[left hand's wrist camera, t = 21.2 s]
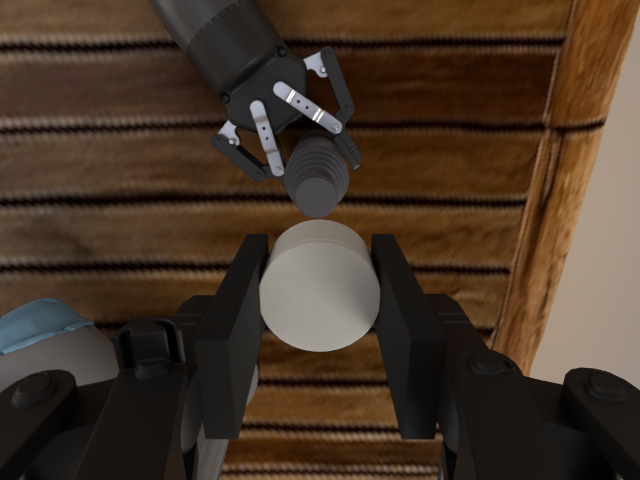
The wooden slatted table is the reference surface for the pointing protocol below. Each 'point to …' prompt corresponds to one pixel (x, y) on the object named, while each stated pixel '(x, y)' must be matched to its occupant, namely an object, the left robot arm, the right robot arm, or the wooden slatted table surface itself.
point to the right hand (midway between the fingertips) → (333, 183)
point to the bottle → (316, 174)
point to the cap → (319, 287)
